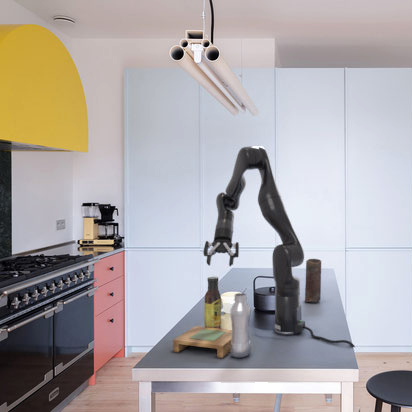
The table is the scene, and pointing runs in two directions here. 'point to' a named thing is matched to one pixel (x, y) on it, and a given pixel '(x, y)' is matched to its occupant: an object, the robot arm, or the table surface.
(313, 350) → the table surface
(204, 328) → the wooden stand
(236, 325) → the plastic bottle
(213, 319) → the sauce bottle
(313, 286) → the rusty brown cylinder
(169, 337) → the table surface
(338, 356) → the table surface
